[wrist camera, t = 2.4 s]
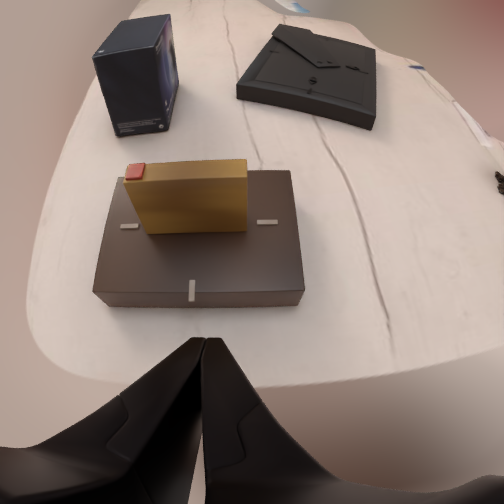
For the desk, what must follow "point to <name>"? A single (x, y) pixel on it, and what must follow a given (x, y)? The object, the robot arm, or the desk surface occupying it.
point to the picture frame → (314, 76)
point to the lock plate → (205, 256)
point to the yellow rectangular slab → (189, 195)
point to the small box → (138, 74)
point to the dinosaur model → (502, 187)
